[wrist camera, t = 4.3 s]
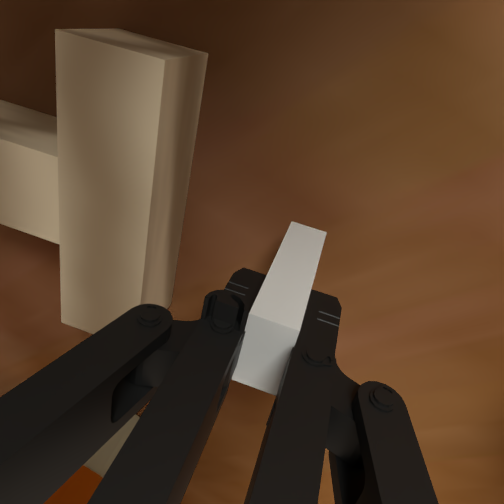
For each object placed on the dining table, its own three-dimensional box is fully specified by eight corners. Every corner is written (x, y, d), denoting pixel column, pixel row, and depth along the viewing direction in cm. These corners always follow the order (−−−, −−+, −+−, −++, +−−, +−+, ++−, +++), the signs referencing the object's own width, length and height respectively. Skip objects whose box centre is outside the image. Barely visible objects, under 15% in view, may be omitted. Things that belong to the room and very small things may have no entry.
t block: (208, 53, 17) (165, 60, 14) (171, 303, 24) (135, 350, 20) (-48, -18, 19) (-145, -28, 15) (-16, 236, 25) (-78, 269, 22)
